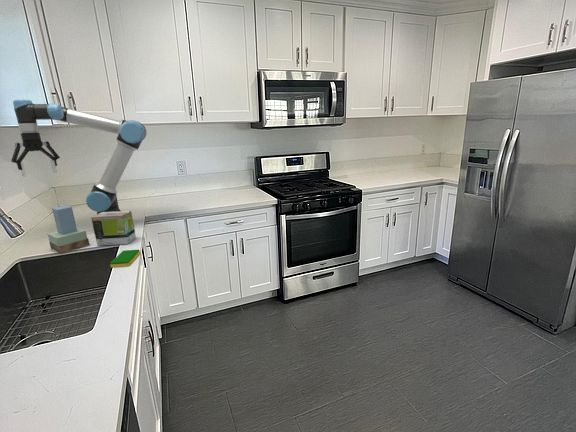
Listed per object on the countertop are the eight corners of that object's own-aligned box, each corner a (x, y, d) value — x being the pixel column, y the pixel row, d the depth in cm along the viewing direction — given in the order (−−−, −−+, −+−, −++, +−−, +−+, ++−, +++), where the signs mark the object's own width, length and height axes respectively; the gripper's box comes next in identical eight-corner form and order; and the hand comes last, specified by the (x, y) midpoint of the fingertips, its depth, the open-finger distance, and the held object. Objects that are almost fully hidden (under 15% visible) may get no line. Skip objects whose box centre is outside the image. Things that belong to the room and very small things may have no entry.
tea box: (136, 237, 163) (131, 210, 159) (127, 244, 153) (122, 215, 149) (107, 239, 163) (101, 211, 159) (96, 246, 153) (90, 216, 149)
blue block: (72, 228, 155) (66, 205, 152) (77, 231, 152) (71, 207, 148) (58, 232, 151) (51, 208, 147) (63, 234, 147) (57, 210, 144)
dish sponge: (110, 268, 128) (109, 263, 128) (124, 255, 142) (123, 250, 141) (128, 267, 129) (127, 261, 128) (140, 254, 142) (139, 249, 141)
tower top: (77, 234, 160) (75, 226, 159) (87, 238, 153) (85, 230, 152) (49, 241, 151) (47, 233, 150) (58, 246, 144) (56, 238, 143)
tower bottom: (78, 241, 161) (76, 234, 160) (89, 246, 155) (88, 238, 154) (51, 249, 152) (49, 241, 151) (62, 254, 145) (60, 246, 144)
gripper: (54, 131, 172) (63, 170, 177) (-5, 133, 152) (7, 177, 157) (61, 131, 167) (69, 171, 173) (0, 133, 148) (13, 178, 153)
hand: (40, 174), depth 165 cm, fingers open, 13 cm apart
